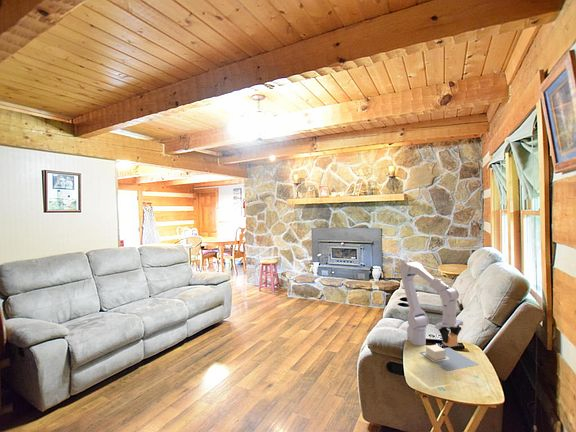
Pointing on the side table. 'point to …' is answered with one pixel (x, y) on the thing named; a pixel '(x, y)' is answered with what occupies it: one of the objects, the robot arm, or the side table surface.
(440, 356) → the base block
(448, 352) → the board
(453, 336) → the orange block
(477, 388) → the side table surface
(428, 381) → the side table surface
